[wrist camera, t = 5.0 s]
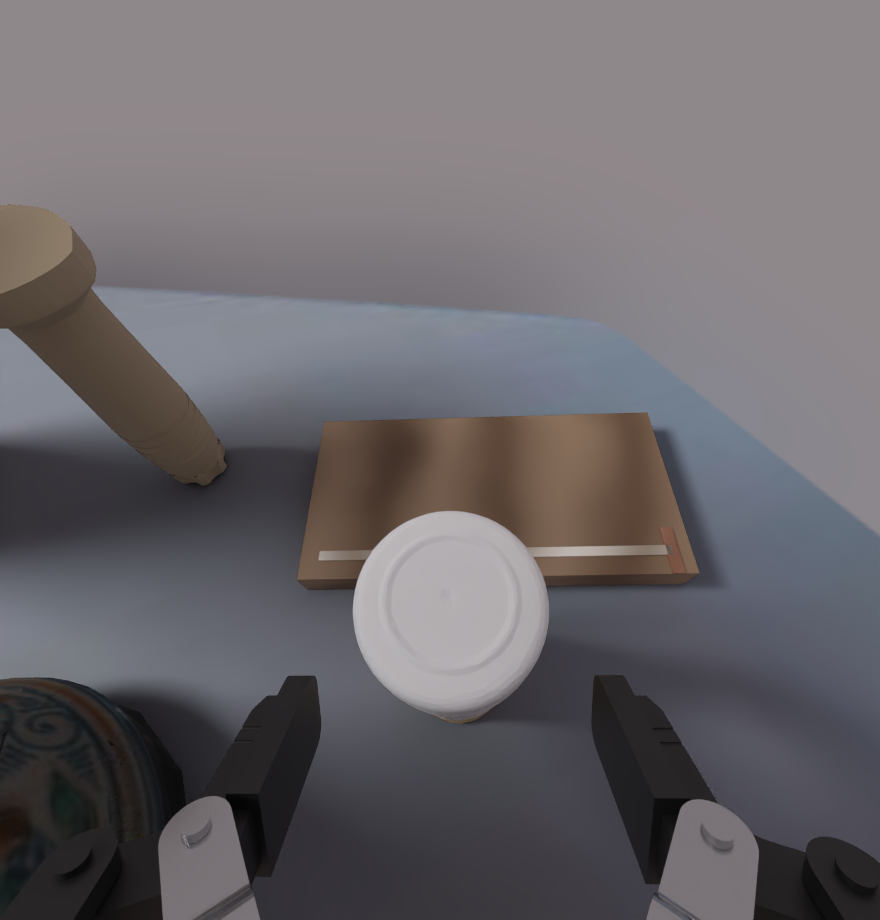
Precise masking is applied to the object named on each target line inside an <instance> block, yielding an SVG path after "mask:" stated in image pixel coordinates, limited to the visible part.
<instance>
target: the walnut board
mask: <svg viewBox="0 0 880 920" xmlns="http://www.w3.org/2000/svg"><path fill="white" fill-rule="evenodd" d="M441 511H462V512H468V513H472V514H477V515H480V516H483V517H486V518H489V519H490V520H492V521H495V522H497V523H498V524H500V525H502V526H503V527H505V528H506V529H507V530H509V531H510V532H511V533H512V534H514V535H515V536H516V537H517V538H518V539H519V540H520V541H521V542H522V543H523V544H524V545H525V546H526V548H527V549H528V550H529V552H530V553H531V555H532V556H533V558H534V559H535V561H536V563H537V565H538V567H539V569H540V571H541V573H542V575H543V578H544V581H545V585H546V586H585V585H652V584H685V583H686V582H688V581H689V580H691V579H692V578H693V577H695V576H696V575H698V574H699V570H698V567H697V564H696V561H695V558H694V554H693V551H692V548H691V545H690V542H689V539H688V536H687V533H686V530H685V527H684V524H683V521H682V518H681V515H680V512H679V508H678V505H677V502H676V499H675V496H674V493H673V490H672V487H671V484H670V481H669V478H668V475H667V472H666V469H665V466H664V462H663V459H662V456H661V453H660V450H659V447H658V444H657V441H656V438H655V435H654V432H653V429H652V426H651V423H650V420H649V416H648V413H613V414H579V415H544V416H509V417H475V418H440V419H405V420H371V421H336V422H324V426H323V432H322V437H321V443H320V449H319V455H318V460H317V466H316V472H315V477H314V483H313V489H312V495H311V500H310V506H309V512H308V517H307V523H306V529H305V534H304V540H303V546H302V552H301V557H300V563H299V569H298V574H297V580H298V581H299V582H300V583H301V584H302V585H303V586H304V587H305V588H306V589H307V590H313V589H355V588H356V584H357V580H358V578H359V575H360V572H361V570H362V568H363V566H364V564H365V562H366V560H367V559H368V557H369V556H370V554H371V552H372V551H373V549H374V548H375V547H376V546H377V545H378V544H379V543H380V542H381V540H382V539H384V538H385V537H386V536H387V535H388V534H389V533H390V532H391V531H393V530H394V529H396V528H397V527H398V526H400V525H402V524H403V523H405V522H407V521H409V520H411V519H414V518H416V517H419V516H422V515H425V514H429V513H434V512H441Z"/></svg>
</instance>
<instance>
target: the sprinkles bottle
mask: <svg viewBox="0 0 880 920" xmlns="http://www.w3.org/2000/svg"><path fill="white" fill-rule="evenodd" d="M353 622H354V629H355V635H356V639H357V642H358V645H359V648H360V650H361V653H362V655H363V657H364V659H365V662H366V663H367V665H368V666H369V668H370V670H371V671H372V672H373V674H374V675H375V676H376V677H377V679H378V680H379V681H380V682H381V683H382V684H383V685H384V686H385V687H386V688H387V689H388V690H389V691H390V692H391V693H392V694H394V695H395V696H396V697H397V698H399V699H400V700H401V701H403V702H405V703H406V704H408V705H410V706H412V707H413V708H416V709H418V710H420V711H423V712H426V713H429V714H432V715H434V716H436V717H437V718H440V719H442V720H444V721H448V722H452V723H465V722H471V721H474V720H477V719H478V718H480V717H481V716H483V715H484V714H486V713H487V712H489V711H490V710H491V709H492V707H494V706H495V705H497V704H499V703H501V702H502V701H503V700H505V699H506V698H507V697H509V696H510V695H511V694H512V693H513V692H514V691H515V690H516V689H517V688H518V687H519V686H520V685H521V684H522V682H523V681H524V680H525V679H526V677H527V676H528V675H529V674H530V672H531V670H532V669H533V667H534V665H535V664H536V662H537V660H538V658H539V656H540V654H541V651H542V649H543V646H544V644H545V639H546V635H547V630H548V624H549V601H548V594H547V589H546V585H545V581H544V578H543V575H542V573H541V571H540V569H539V567H538V565H537V563H536V561H535V559H534V558H533V556H532V555H531V553H530V552H529V550H528V549H527V548H526V546H525V545H524V544H523V543H522V542H521V541H520V540H519V539H518V538H517V537H516V536H515V535H514V534H512V533H511V532H510V531H509V530H507V529H506V528H505V527H503V526H502V525H500V524H498V523H497V522H495V521H492V520H490V519H489V518H486V517H483V516H480V515H477V514H472V513H468V512H462V511H441V512H434V513H429V514H425V515H422V516H419V517H416V518H414V519H411V520H409V521H407V522H405V523H403V524H402V525H400V526H398V527H397V528H396V529H394V530H393V531H391V532H390V533H389V534H388V535H387V536H386V537H385V538H384V539H382V540H381V542H380V543H379V544H378V545H377V546H376V547H375V548H374V549H373V551H372V552H371V554H370V556H369V557H368V559H367V560H366V562H365V564H364V566H363V568H362V570H361V572H360V575H359V578H358V580H357V584H356V588H355V594H354V601H353Z"/></svg>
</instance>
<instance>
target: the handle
mask: <svg viewBox="0 0 880 920" xmlns="http://www.w3.org/2000/svg"><path fill="white" fill-rule="evenodd" d="M95 277H96V265H95V262H94V259H93V256H92V254H91V251H90V250H89V249H88V248H87V246H86V245H85V244H84V242H83V241H82V240H81V238H80V237H79V236H78V235H77V233H76V232H75V231H74V230H73V229H72V227H71V226H70V225H69V224H68V223H67V222H66V221H65V220H63V219H62V218H60V217H59V216H57V215H56V214H54V213H53V212H51V211H49V210H46V209H43V208H38V207H30V206H21V205H9V204H8V205H3V206H0V328H8V329H9V330H11V331H12V332H13V333H14V334H15V335H16V336H17V337H18V338H20V339H21V340H22V341H23V342H24V343H25V344H26V345H27V346H28V347H29V348H31V349H32V350H33V351H34V352H35V353H36V354H37V355H38V356H39V357H40V358H41V359H42V360H43V361H44V362H45V363H46V364H47V365H48V366H49V367H50V368H51V369H52V370H53V371H54V372H55V373H56V374H57V375H58V376H59V377H60V378H61V379H62V380H63V381H64V382H65V383H66V384H67V385H68V386H69V387H70V388H71V389H72V390H73V391H74V392H75V393H76V394H77V395H78V396H79V397H80V398H81V399H82V400H83V401H84V402H85V403H86V404H87V405H88V406H89V407H90V408H91V409H92V410H93V411H94V412H95V413H96V414H97V415H98V416H99V417H100V418H101V419H102V420H103V421H104V422H105V423H106V424H107V425H108V426H109V427H110V428H111V429H112V430H113V431H114V432H115V433H117V434H118V435H119V436H120V437H121V438H122V439H124V440H125V441H126V442H127V443H128V444H129V445H131V446H132V447H133V448H134V449H136V450H137V451H138V452H139V453H141V454H142V455H144V456H145V457H146V458H147V459H149V460H150V461H151V462H153V463H154V464H156V465H157V466H159V467H160V468H162V469H163V470H165V471H167V472H169V474H170V475H171V476H172V477H174V478H175V479H177V480H178V481H180V482H182V483H184V484H189V483H199V484H201V485H203V486H204V485H207V484H209V483H211V481H212V480H213V479H214V478H215V477H216V476H217V475H219V474H221V473H223V472H224V470H225V469H226V467H227V466H226V464H225V462H224V455H225V450H224V447H223V445H222V444H221V442H220V441H219V439H218V438H216V436H215V434H214V432H213V430H212V429H211V427H210V425H209V424H208V422H207V421H206V419H205V418H204V416H203V415H202V414H201V412H200V411H199V409H198V408H197V407H196V405H195V404H194V403H193V401H192V400H191V399H190V398H189V396H188V395H187V394H186V393H185V392H184V390H183V389H182V388H181V387H180V386H179V385H178V384H177V382H176V381H175V380H174V379H173V378H172V377H171V376H170V375H169V374H168V373H167V372H166V371H165V370H164V369H163V367H162V366H161V365H160V364H159V363H158V362H157V361H156V360H155V359H154V358H153V357H152V356H151V355H150V354H149V353H148V351H147V350H146V349H145V348H144V347H143V346H142V345H141V344H140V343H139V342H138V341H137V340H136V339H135V337H134V336H133V335H132V334H131V333H130V332H129V331H128V330H127V329H126V328H125V327H124V325H123V324H122V323H121V322H120V321H119V320H118V319H117V318H116V317H115V316H114V315H113V313H112V312H111V311H110V310H109V309H108V308H107V307H106V306H105V305H104V304H103V302H102V301H101V300H100V299H99V298H98V296H97V295H96V294H95V293H94V291H93V290H92V289H91V287H92V285H93V283H94V281H95Z"/></svg>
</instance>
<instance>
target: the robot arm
mask: <svg viewBox="0 0 880 920" xmlns="http://www.w3.org/2000/svg"><path fill="white" fill-rule="evenodd" d="M320 732H321V715H320V706H319V697H318V687H317V680H316V677H315V676H288V677H287V678H286V680H285V682H284V684H283V685H282V687H281V689H280V691H279V693H278V695H277V696H267V697H265V698H264V699H263V700H262V701H261V702H260V703H259V704H258V705H257V706H256V707H255V708H254V709H252V711H251V713H250V714H249V716H248V718H247V719H246V721H245V723H244V725H243V726H242V730H240V732H239V733H238V735H237V737H236V738H235V741H234V744H232V745H231V747H230V749H229V751H228V752H227V754H226V756H225V757H224V759H223V761H222V763H221V764H220V766H219V768H218V769H217V771H216V773H215V775H214V776H213V778H212V780H211V782H210V783H209V785H208V787H207V788H206V790H205V792H204V794H203V795H202V797H201V798H200V799H198V800H196V801H194V802H192V803H190V804H188V805H187V806H185V807H184V808H182V809H181V810H180V811H179V812H178V813H176V814H175V815H174V816H173V817H172V819H171V820H170V821H169V822H168V824H167V825H166V826H165V828H164V829H163V830H161V831H159V832H156V833H153V834H150V835H146V836H143V837H140V838H137V839H133V840H130V841H127V842H124V843H121V844H118V841H117V837H116V834H115V833H114V832H113V831H112V830H110V829H107V828H95V829H91V830H87V831H85V832H82V833H80V834H78V835H76V836H74V837H72V838H71V839H69V840H67V841H66V842H64V843H63V844H62V845H60V846H59V847H58V848H57V849H55V850H54V851H53V852H52V853H51V854H50V855H49V856H48V857H47V858H46V859H45V860H44V861H43V862H42V864H41V865H40V866H39V867H38V869H37V870H36V871H35V872H34V874H33V875H32V876H31V878H30V879H29V880H28V882H27V883H26V884H25V885H24V887H23V888H22V889H21V891H20V892H19V893H18V895H17V896H16V897H15V898H14V900H13V901H12V902H11V904H10V905H9V906H8V908H7V909H6V910H5V911H4V913H3V914H2V915H1V917H0V920H260V917H259V913H258V909H257V905H256V901H255V897H254V893H253V889H252V887H251V885H252V883H253V880H254V877H271V875H272V872H273V870H274V867H275V864H276V861H277V858H278V856H279V853H280V850H281V847H282V844H283V842H284V839H285V836H286V833H287V830H288V827H289V825H290V822H291V819H292V816H293V813H294V811H295V808H296V805H297V802H298V799H299V797H300V794H301V791H302V788H303V785H304V782H305V780H306V777H307V774H308V771H309V768H310V766H311V763H312V760H313V757H314V754H315V752H316V749H317V746H318V742H319V738H320ZM592 733H593V738H594V743H595V746H596V749H597V752H598V755H599V757H600V760H601V763H602V765H603V768H604V771H605V774H606V776H607V779H608V782H609V785H610V787H611V790H612V793H613V795H614V798H615V801H616V804H617V806H618V809H619V812H620V815H621V817H622V820H623V823H624V825H625V828H626V831H627V834H628V836H629V839H630V842H631V845H632V847H633V850H634V853H635V855H636V858H637V861H638V864H639V866H640V869H641V872H642V875H643V877H644V880H645V883H646V884H660V886H659V890H658V893H654V895H653V898H652V901H651V904H650V908H649V911H648V915H647V919H646V920H880V863H879V862H877V861H876V860H875V859H874V858H872V857H871V856H870V855H868V854H867V853H865V852H864V851H862V850H860V849H859V848H857V847H855V846H853V845H851V844H849V843H847V842H844V841H842V840H839V839H835V838H831V837H818V838H814V839H813V840H811V841H810V842H809V843H808V846H807V849H806V853H805V852H802V851H799V850H795V849H792V848H789V847H786V846H783V845H779V844H776V843H773V842H770V841H767V840H764V839H762V838H760V837H757V836H755V835H753V834H752V832H751V831H750V830H749V828H748V827H747V826H746V824H745V823H744V822H743V821H742V820H741V819H740V818H739V817H737V816H736V815H735V814H734V813H732V812H731V811H730V810H728V809H726V808H725V807H723V806H721V805H719V804H718V803H717V801H716V800H715V798H714V796H713V795H712V793H711V791H710V790H709V788H708V786H707V785H706V783H705V781H704V779H703V778H702V776H701V774H700V773H699V771H698V769H697V768H696V766H695V764H694V763H693V761H692V759H691V758H690V756H689V754H688V753H687V751H686V749H685V748H684V746H682V744H681V741H680V739H679V738H678V736H677V734H676V732H675V731H673V727H672V726H671V724H670V722H669V721H668V719H667V717H666V716H665V714H664V712H663V711H662V710H661V709H660V708H659V707H658V706H657V705H656V704H655V703H653V702H652V701H651V700H650V699H649V698H648V697H647V696H635V695H634V694H633V692H632V690H631V688H630V686H629V684H628V682H627V681H626V679H625V677H624V676H622V675H596V676H595V677H594V684H593V702H592Z"/></svg>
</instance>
